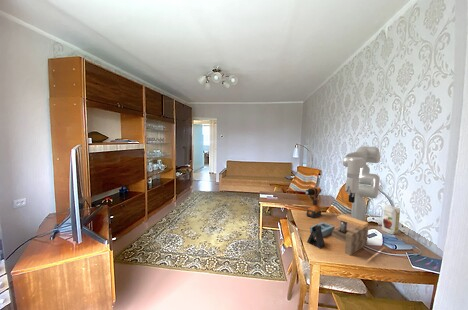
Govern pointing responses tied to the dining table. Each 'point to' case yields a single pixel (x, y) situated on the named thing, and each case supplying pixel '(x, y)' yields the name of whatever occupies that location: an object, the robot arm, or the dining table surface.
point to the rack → (324, 228)
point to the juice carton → (390, 219)
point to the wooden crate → (352, 238)
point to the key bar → (352, 221)
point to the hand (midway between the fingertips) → (351, 202)
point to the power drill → (314, 202)
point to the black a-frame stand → (319, 237)
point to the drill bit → (343, 227)
